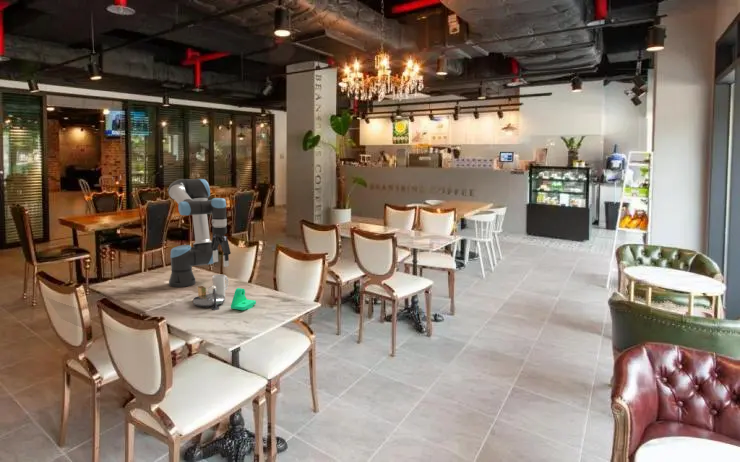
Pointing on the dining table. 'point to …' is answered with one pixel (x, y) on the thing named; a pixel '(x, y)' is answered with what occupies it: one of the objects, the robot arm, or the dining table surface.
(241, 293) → the camera mount
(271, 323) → the dining table surface
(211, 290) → the gauge post
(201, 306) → the turntable base
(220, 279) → the mug
